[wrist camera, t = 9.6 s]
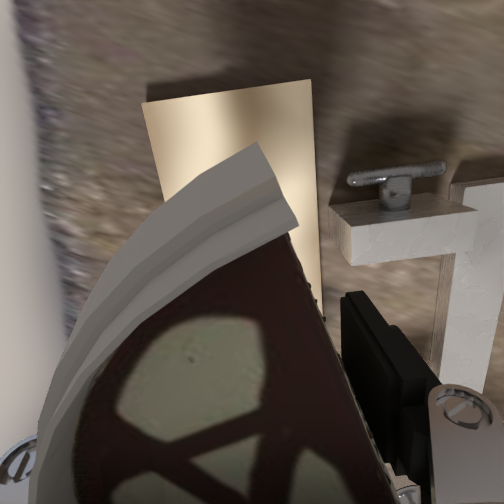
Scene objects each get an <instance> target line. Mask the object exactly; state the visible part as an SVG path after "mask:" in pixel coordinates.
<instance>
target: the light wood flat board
mask: <svg viewBox="0 0 504 504" xmlns="http://www.w3.org/2000/svg"><path fill="white" fill-rule="evenodd" d="M141 104H142V109H143V113H144V117H145V121H146V125H147V129H148V133H149V138H150V142H151V146H152V150H153V154H154V158H155V162H156V166H157V171H158V175H159V179H160V183H161V187H162V191H163V195H164V200H165V202H166V201H167V200H169V199H170V198H171V197H172V196H173V195H175V194H176V193H177V192H178V191H180V190H181V189H182V188H183V187H185V186H186V185H187V184H188V183H189V182H191V181H192V180H193V179H194V178H196V177H197V176H198V175H199V174H201V173H203V172H205V171H206V170H208V169H210V168H212V167H213V166H215V165H217V164H218V163H220V162H222V161H224V160H225V159H227V158H229V157H231V156H232V155H234V154H236V153H237V152H239V151H241V150H243V149H244V148H246V147H248V146H249V145H251V144H253V143H255V142H256V141H257V142H258V144H259V146H260V148H261V150H262V151H263V153H264V155H265V157H266V159H267V161H268V162H269V164H270V166H271V168H272V170H273V172H274V174H275V175H276V178H277V180H278V183H279V185H280V188H281V190H282V193H283V196H284V198H285V199H286V201H287V203H288V204H289V206H290V208H291V209H292V211H293V213H294V214H295V216H296V218H297V221H298V223H299V226H298V227H296V228H294V229H293V230H291V231H289V232H288V233H289V235H290V238H291V242H292V245H293V247H294V250H295V252H296V254H297V257H298V259H299V261H300V262H301V265H302V267H303V272H304V274H305V276H306V279H307V281H308V282H309V283H310V284H311V291H312V293H313V296H314V298H315V299H317V301H318V302H317V305H318V308H319V310H320V312H321V314H322V293H321V273H320V253H319V232H318V212H317V191H316V171H315V151H314V130H313V110H312V90H311V79H307V80H300V81H293V82H286V83H279V84H272V85H265V86H259V87H252V88H245V89H238V90H231V91H224V92H217V93H210V94H203V95H196V96H189V97H182V98H175V99H168V100H161V101H154V102H147V103H141ZM322 316H323V314H322Z"/></svg>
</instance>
